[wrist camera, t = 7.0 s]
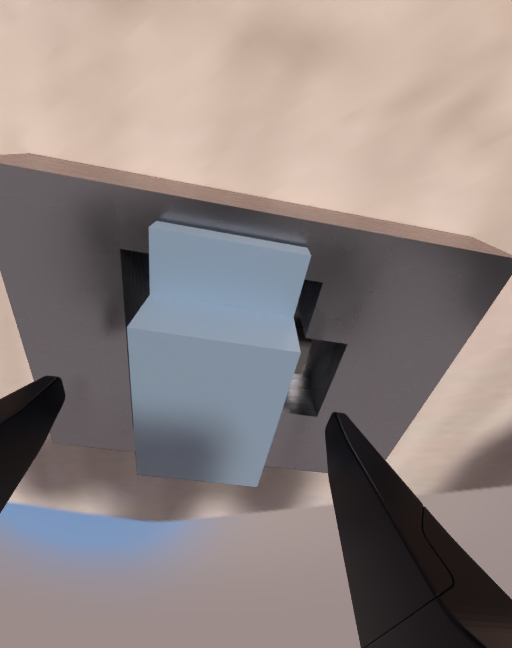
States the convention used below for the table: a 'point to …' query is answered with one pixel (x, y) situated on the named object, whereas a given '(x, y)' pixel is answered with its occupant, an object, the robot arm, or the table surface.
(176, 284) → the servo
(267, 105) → the table surface
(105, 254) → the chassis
